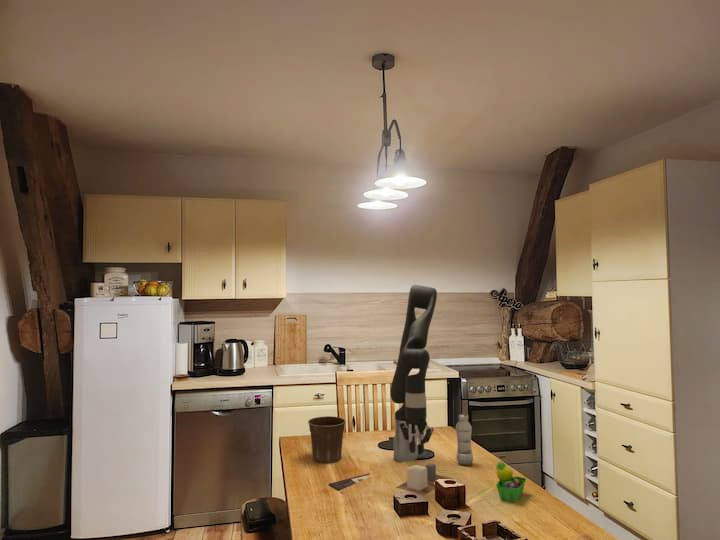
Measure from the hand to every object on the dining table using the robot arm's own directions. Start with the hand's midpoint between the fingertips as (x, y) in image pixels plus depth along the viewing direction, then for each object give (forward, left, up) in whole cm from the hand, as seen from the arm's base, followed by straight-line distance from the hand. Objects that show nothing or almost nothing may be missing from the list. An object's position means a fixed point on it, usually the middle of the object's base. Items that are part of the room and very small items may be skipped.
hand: (416, 453), depth 183 cm
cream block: (0, 0, -12) cm, 12 cm away
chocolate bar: (-22, -8, -14) cm, 27 cm away
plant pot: (-50, +6, -13) cm, 52 cm away
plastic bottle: (0, +35, -13) cm, 37 cm away
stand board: (0, +5, -13) cm, 14 cm away
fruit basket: (+28, +15, -13) cm, 34 cm away
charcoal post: (0, +9, -12) cm, 15 cm away
